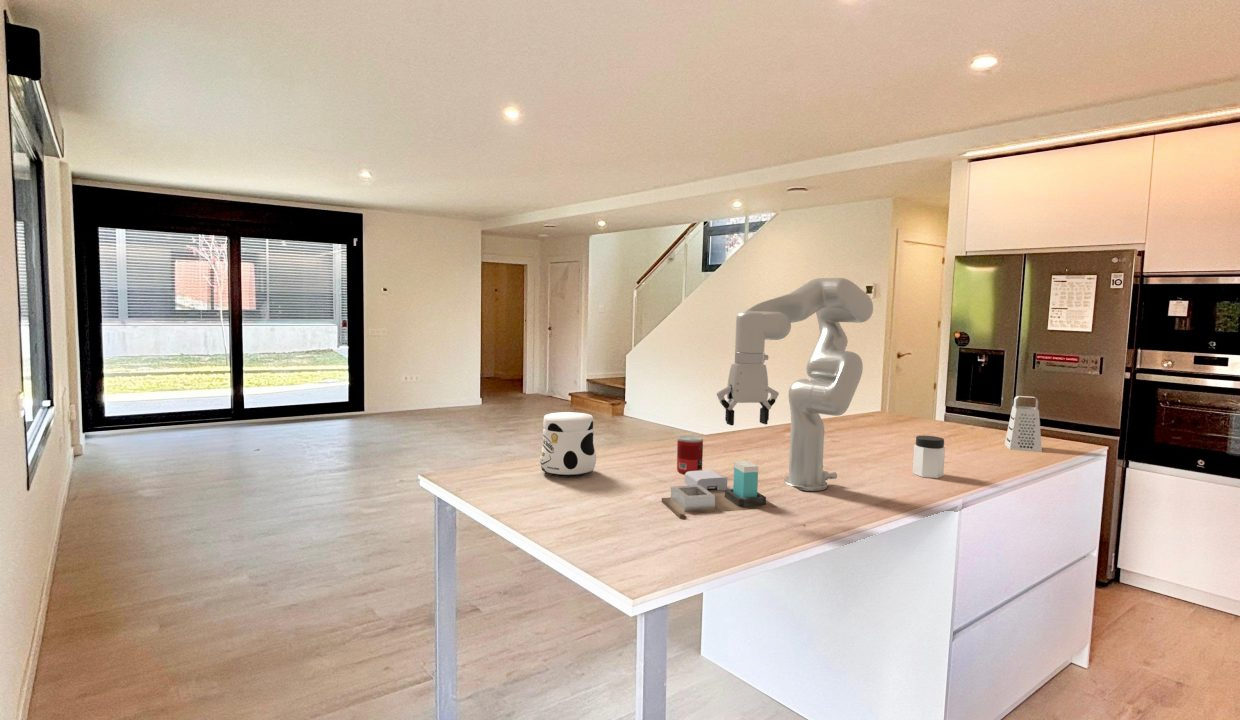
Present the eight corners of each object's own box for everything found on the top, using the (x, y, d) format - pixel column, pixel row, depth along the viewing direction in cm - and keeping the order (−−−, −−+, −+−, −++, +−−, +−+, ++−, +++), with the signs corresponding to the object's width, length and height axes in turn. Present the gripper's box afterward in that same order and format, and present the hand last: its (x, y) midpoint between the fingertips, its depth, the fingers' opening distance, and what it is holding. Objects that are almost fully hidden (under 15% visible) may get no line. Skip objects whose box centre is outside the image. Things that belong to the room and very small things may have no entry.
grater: (1041, 452, 244) (1045, 399, 242) (1009, 449, 248) (1013, 397, 246) (1035, 446, 254) (1038, 395, 252) (1004, 444, 258) (1007, 394, 256)
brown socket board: (753, 495, 181) (753, 485, 181) (778, 511, 168) (778, 499, 167) (661, 501, 174) (661, 490, 174) (679, 518, 160) (680, 506, 160)
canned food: (703, 475, 202) (704, 440, 201) (677, 474, 202) (678, 440, 201) (700, 469, 210) (701, 435, 209) (675, 468, 210) (676, 435, 209)
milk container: (528, 474, 199) (528, 416, 198) (564, 463, 214) (564, 409, 212) (572, 484, 190) (572, 423, 188) (606, 472, 204) (607, 415, 202)
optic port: (699, 497, 175) (699, 485, 174) (714, 509, 165) (715, 495, 165) (670, 499, 172) (670, 486, 172) (684, 511, 163) (684, 497, 162)
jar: (948, 478, 204) (951, 440, 203) (926, 479, 202) (928, 441, 201) (929, 470, 212) (931, 434, 211) (907, 471, 211) (909, 435, 210)
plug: (746, 497, 176) (747, 460, 175) (757, 503, 170) (758, 466, 169) (732, 497, 175) (734, 461, 174) (742, 504, 169) (744, 467, 168)
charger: (704, 479, 198) (727, 493, 183) (676, 481, 195) (697, 495, 181) (705, 464, 197) (727, 477, 183) (676, 466, 194) (697, 479, 180)
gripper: (772, 358, 175) (769, 420, 177) (712, 358, 171) (710, 422, 172) (786, 360, 168) (783, 425, 170) (724, 360, 164) (722, 427, 165)
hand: (746, 424), depth 171 cm, fingers open, 9 cm apart
